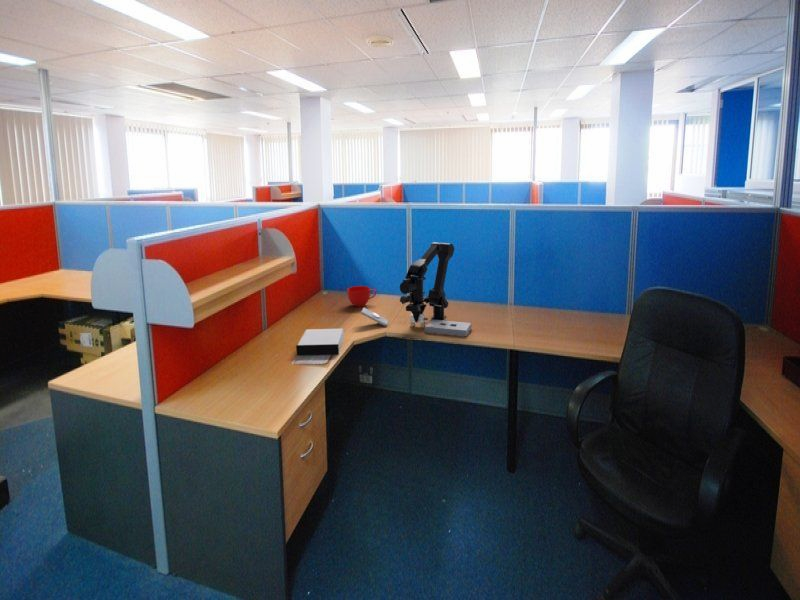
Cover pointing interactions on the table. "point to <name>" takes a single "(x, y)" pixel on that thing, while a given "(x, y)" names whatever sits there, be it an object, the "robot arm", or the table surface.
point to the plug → (420, 320)
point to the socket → (448, 327)
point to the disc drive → (320, 342)
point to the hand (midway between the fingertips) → (417, 320)
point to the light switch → (374, 316)
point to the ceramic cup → (359, 295)
